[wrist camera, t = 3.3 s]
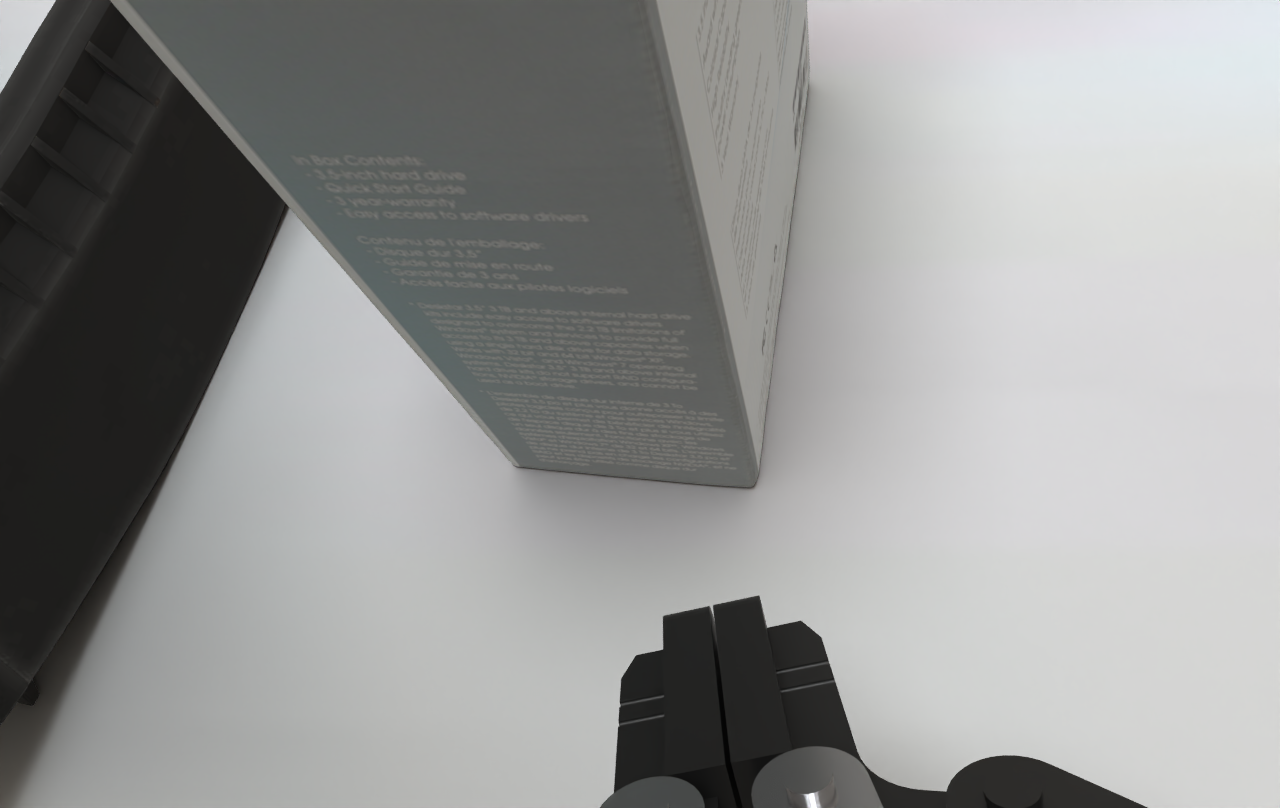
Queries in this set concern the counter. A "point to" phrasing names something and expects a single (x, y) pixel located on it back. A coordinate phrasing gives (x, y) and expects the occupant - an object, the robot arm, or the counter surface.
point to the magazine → (103, 303)
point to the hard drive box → (537, 199)
